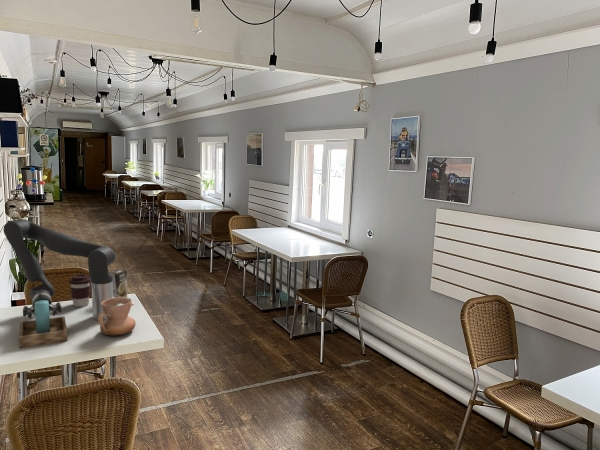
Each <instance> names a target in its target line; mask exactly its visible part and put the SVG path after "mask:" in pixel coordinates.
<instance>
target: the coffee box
mask: <svg viewBox="0 0 600 450" xmlns="http://www.w3.org/2000/svg"><path fill="white" fill-rule="evenodd" d="M108 273H109V274H111V275H112V277H113V297H114V298H115V297H127V298H128V281H127V280H128V276H127V273H128V272H127V269H117V268H116V269H114V270H111V271H108Z"/></svg>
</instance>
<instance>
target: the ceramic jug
mask: <svg viewBox="0 0 600 450" xmlns="http://www.w3.org/2000/svg"><path fill="white" fill-rule="evenodd" d="M101 305H102V309H103V311H104V312H103V313H101V314H100V315H99V316H98V320H97V321H98V324H99V326H100V327H99V329H100V332H102V334H105V335H108V336H123V335H126V334H128V333H130V332H132V331H133V330H134V329H135V327H136V320H135V319H134V318H133V317H131V316H129V313H130V311H131V307H132V306H134V305H135V303H134V302H133V300H132V299H131V298H130V297H128V296H127V297H115V298H110V299H107V300H105V301H103V302H102V303H101ZM104 316H106V317H107V319H105V320H103V317H104Z"/></svg>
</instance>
